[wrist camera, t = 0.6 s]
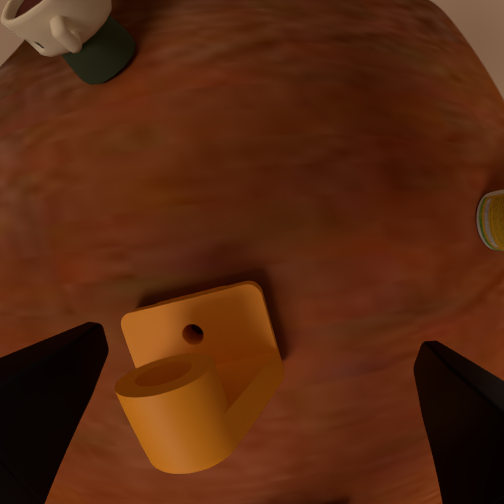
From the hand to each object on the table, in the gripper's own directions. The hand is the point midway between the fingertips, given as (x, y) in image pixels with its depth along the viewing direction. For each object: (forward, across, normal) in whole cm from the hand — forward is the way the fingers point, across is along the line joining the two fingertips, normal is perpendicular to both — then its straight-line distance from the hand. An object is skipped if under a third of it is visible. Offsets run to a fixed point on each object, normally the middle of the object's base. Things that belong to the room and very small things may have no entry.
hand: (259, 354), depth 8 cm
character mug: (+20, +16, -14) cm, 30 cm away
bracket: (+13, +5, +9) cm, 17 cm away
